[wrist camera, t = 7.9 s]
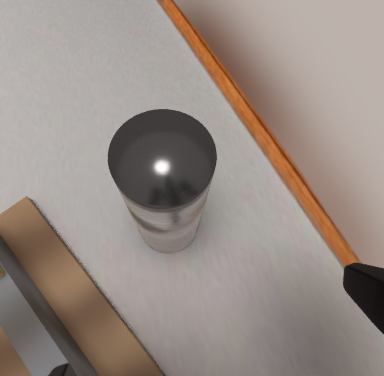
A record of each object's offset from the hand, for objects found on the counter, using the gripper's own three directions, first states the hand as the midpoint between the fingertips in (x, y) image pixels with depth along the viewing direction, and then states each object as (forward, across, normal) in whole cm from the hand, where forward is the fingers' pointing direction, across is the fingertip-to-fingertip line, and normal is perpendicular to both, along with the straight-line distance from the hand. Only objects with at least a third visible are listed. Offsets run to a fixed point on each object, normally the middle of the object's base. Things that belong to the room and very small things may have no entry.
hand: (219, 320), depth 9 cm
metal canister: (+14, 0, -5) cm, 15 cm away
